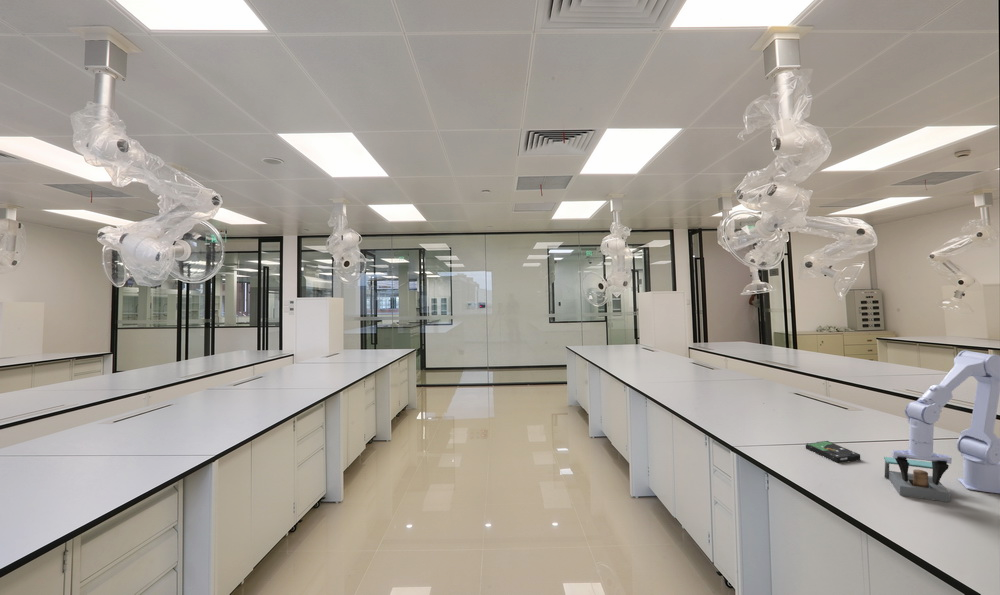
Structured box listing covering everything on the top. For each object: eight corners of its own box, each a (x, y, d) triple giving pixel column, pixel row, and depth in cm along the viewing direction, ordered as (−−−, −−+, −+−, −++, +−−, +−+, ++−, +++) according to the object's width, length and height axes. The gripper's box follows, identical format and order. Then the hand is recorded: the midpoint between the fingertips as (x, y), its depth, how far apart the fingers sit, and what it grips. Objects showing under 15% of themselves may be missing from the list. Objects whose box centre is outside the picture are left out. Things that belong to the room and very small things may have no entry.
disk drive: (861, 461, 178) (826, 446, 193) (861, 454, 178) (827, 440, 192) (837, 464, 176) (804, 449, 191) (837, 457, 176) (804, 442, 190)
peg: (929, 496, 150) (930, 474, 149) (915, 495, 151) (916, 473, 151) (924, 491, 153) (924, 470, 153) (910, 490, 154) (911, 468, 154)
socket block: (934, 485, 157) (935, 476, 157) (949, 502, 146) (949, 492, 146) (888, 479, 162) (889, 470, 162) (899, 495, 151) (900, 485, 151)
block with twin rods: (936, 483, 158) (937, 462, 158) (941, 489, 154) (942, 468, 154) (883, 476, 164) (884, 456, 164) (887, 481, 160) (887, 461, 160)
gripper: (944, 438, 152) (943, 479, 153) (888, 433, 158) (887, 473, 159) (955, 446, 146) (954, 489, 146) (896, 441, 151) (895, 482, 152)
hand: (920, 481), depth 152 cm, fingers open, 7 cm apart
